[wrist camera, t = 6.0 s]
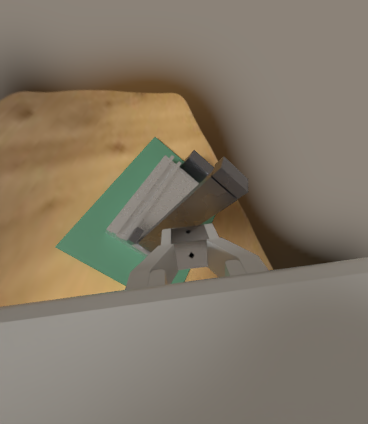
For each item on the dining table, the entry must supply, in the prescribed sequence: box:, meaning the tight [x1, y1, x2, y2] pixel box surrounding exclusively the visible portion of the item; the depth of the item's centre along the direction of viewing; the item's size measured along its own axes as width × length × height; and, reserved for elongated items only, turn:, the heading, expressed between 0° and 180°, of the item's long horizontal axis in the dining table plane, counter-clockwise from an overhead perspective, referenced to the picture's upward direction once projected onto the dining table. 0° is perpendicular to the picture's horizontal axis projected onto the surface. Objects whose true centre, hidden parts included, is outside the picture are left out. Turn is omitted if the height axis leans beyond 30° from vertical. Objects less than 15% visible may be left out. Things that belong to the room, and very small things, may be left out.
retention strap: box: [137, 157, 248, 252], centre depth 19 cm, size 17×3×2 cm
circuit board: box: [56, 137, 215, 286], centre depth 31 cm, size 26×20×1 cm
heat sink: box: [105, 150, 214, 258], centre depth 28 cm, size 20×12×7 cm, turn 149°
